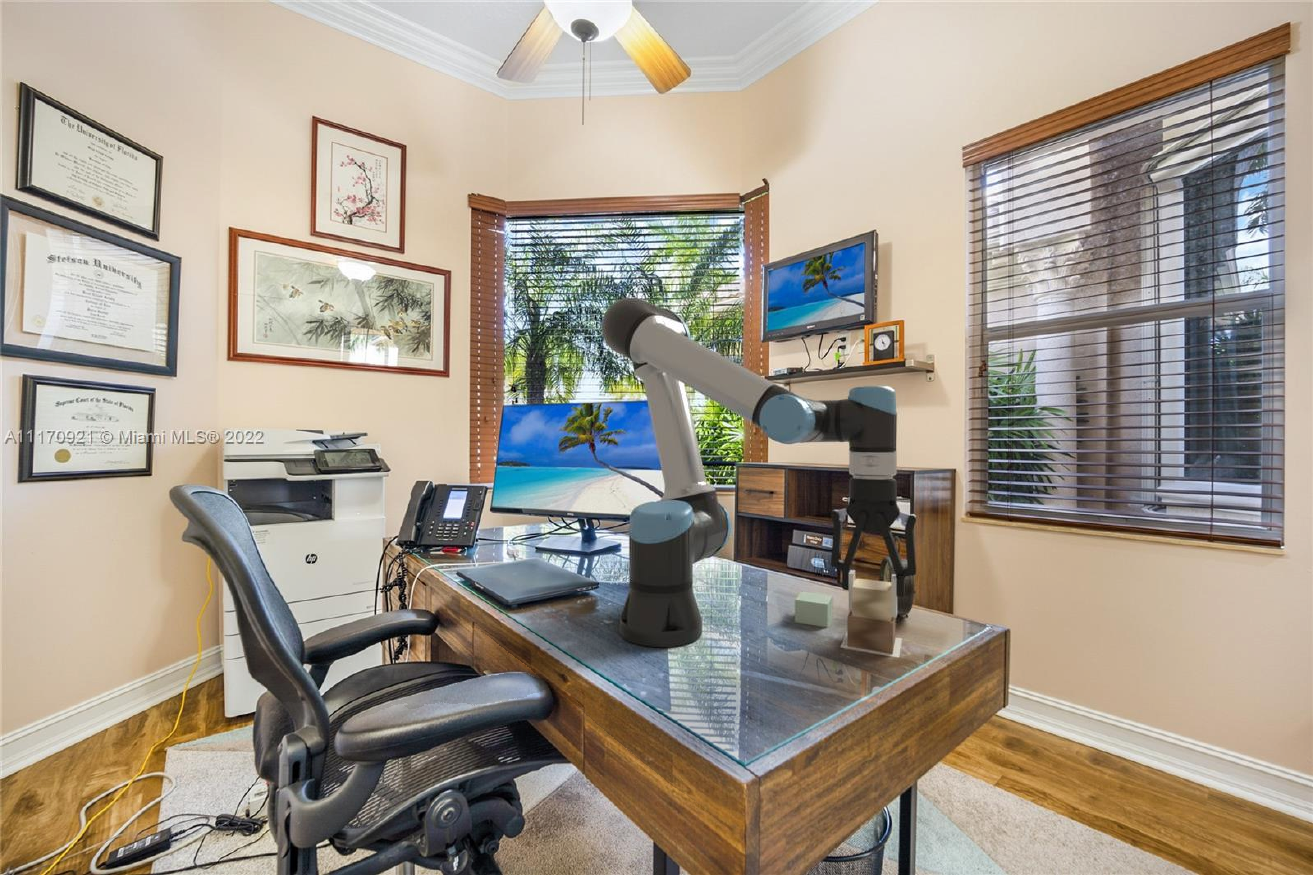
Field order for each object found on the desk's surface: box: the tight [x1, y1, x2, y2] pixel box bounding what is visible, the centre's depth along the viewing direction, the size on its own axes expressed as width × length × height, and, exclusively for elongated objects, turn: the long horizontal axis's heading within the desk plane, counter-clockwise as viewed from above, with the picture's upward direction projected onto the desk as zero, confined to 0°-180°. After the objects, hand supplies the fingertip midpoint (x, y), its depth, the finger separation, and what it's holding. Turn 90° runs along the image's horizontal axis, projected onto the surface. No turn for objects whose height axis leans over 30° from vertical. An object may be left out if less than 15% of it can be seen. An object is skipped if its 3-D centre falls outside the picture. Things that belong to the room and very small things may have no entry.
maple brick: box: [852, 577, 892, 622], centre depth 91 cm, size 6×6×5 cm
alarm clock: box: [878, 536, 916, 624], centre depth 104 cm, size 11×5×16 cm, turn 167°
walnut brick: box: [846, 611, 896, 654], centre depth 91 cm, size 7×7×5 cm
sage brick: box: [794, 591, 834, 628], centre depth 102 cm, size 6×6×5 cm
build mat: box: [840, 632, 903, 659], centre depth 91 cm, size 9×9×1 cm
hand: (872, 611), depth 91 cm, fingers closed on maple brick, 6 cm apart
